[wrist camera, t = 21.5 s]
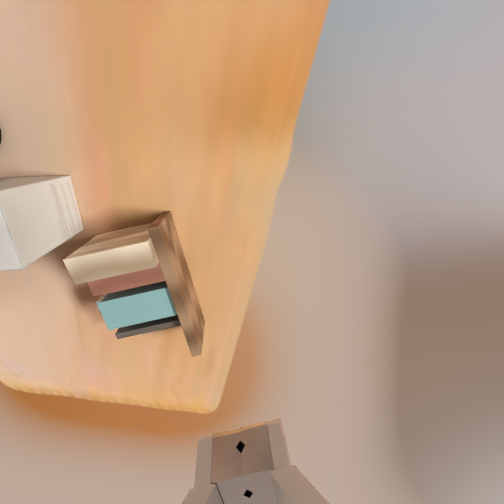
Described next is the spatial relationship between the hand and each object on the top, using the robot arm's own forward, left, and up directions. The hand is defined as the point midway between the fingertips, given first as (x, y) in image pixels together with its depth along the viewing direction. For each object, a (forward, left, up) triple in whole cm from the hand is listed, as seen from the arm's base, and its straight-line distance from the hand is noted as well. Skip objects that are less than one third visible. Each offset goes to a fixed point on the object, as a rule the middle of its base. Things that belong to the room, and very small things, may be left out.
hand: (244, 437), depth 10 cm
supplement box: (-7, -22, -31) cm, 39 cm away
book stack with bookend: (+6, -12, -31) cm, 34 cm away
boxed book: (+7, -13, -31) cm, 35 cm away
